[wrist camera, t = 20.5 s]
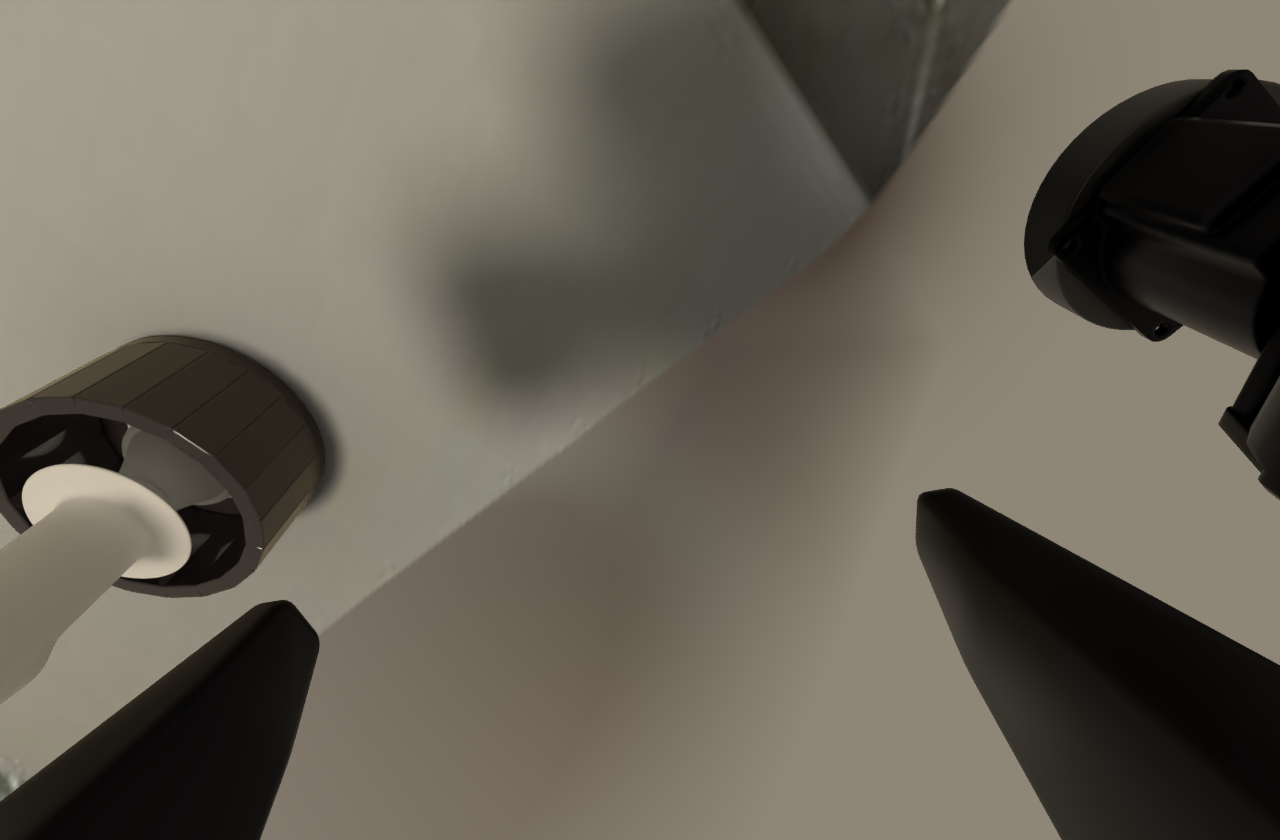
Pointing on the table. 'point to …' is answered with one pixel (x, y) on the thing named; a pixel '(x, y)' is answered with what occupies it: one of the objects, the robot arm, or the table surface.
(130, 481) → the candle
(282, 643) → the robot arm
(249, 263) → the table surface
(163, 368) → the holder
